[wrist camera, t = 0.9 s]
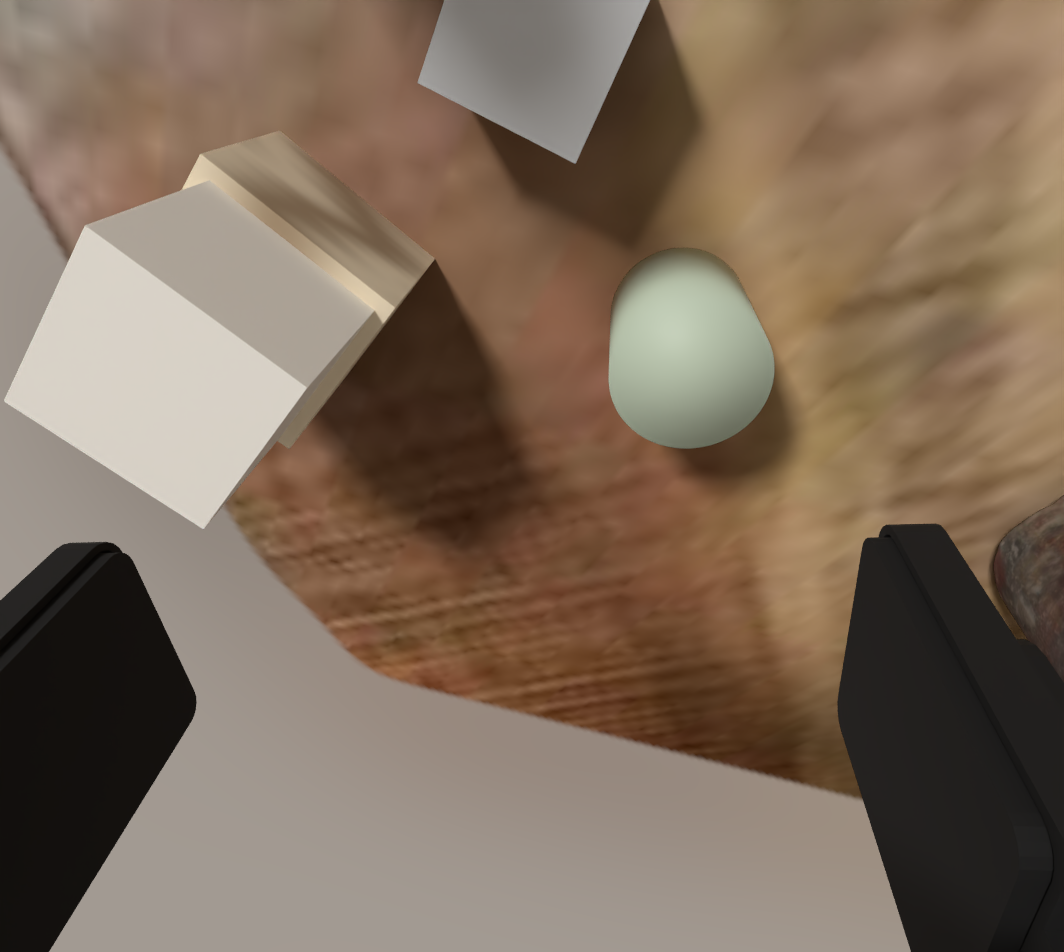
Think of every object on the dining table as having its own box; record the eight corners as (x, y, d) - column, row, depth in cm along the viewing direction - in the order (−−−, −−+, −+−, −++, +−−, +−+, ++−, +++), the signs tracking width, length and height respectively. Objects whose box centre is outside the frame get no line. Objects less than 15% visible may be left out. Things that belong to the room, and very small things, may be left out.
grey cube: (653, -14, 23) (660, -24, 19) (582, 141, 26) (575, 163, 22) (509, -95, 23) (484, -124, 18) (451, 74, 25) (417, 82, 21)
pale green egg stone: (775, 309, 28) (809, 372, 23) (676, 401, 30) (688, 475, 25) (678, 217, 27) (692, 262, 22) (583, 320, 29) (575, 382, 24)
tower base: (435, 258, 28) (395, 307, 23) (342, 381, 32) (289, 449, 27) (280, 130, 27) (200, 153, 22) (198, 275, 30) (111, 325, 25)
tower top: (374, 310, 23) (307, 387, 18) (283, 432, 26) (203, 529, 21) (209, 180, 22) (85, 225, 17) (131, 324, 25) (3, 401, 19)
